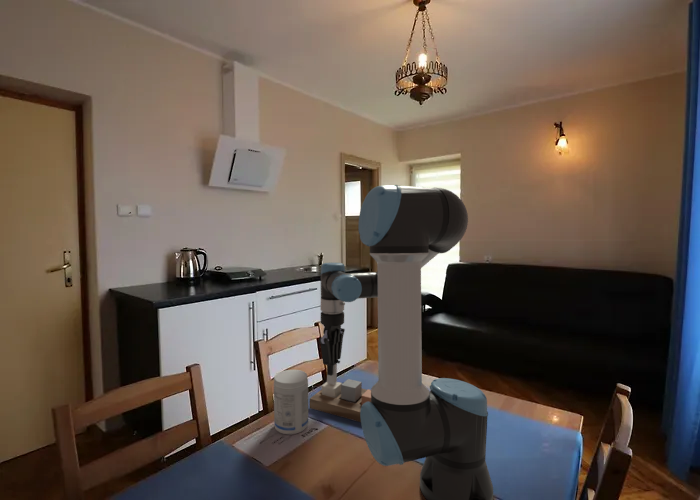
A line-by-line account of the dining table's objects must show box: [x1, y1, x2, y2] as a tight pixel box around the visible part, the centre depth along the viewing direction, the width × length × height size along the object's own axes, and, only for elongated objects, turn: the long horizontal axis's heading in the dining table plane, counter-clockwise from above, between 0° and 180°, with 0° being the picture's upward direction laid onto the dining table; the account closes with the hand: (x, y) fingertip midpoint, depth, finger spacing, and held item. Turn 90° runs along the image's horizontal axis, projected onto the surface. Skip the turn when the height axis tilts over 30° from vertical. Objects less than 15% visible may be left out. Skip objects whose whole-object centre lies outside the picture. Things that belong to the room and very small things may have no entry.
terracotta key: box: [361, 389, 371, 405], centre depth 111 cm, size 5×5×4 cm
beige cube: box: [321, 381, 343, 398], centre depth 117 cm, size 5×5×4 cm
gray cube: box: [341, 378, 363, 403], centre depth 114 cm, size 5×5×4 cm
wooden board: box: [309, 388, 368, 423], centre depth 114 cm, size 14×22×3 cm, turn 64°
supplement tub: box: [273, 369, 309, 435], centre depth 102 cm, size 10×10×15 cm
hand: (331, 383), depth 117 cm, fingers closed
